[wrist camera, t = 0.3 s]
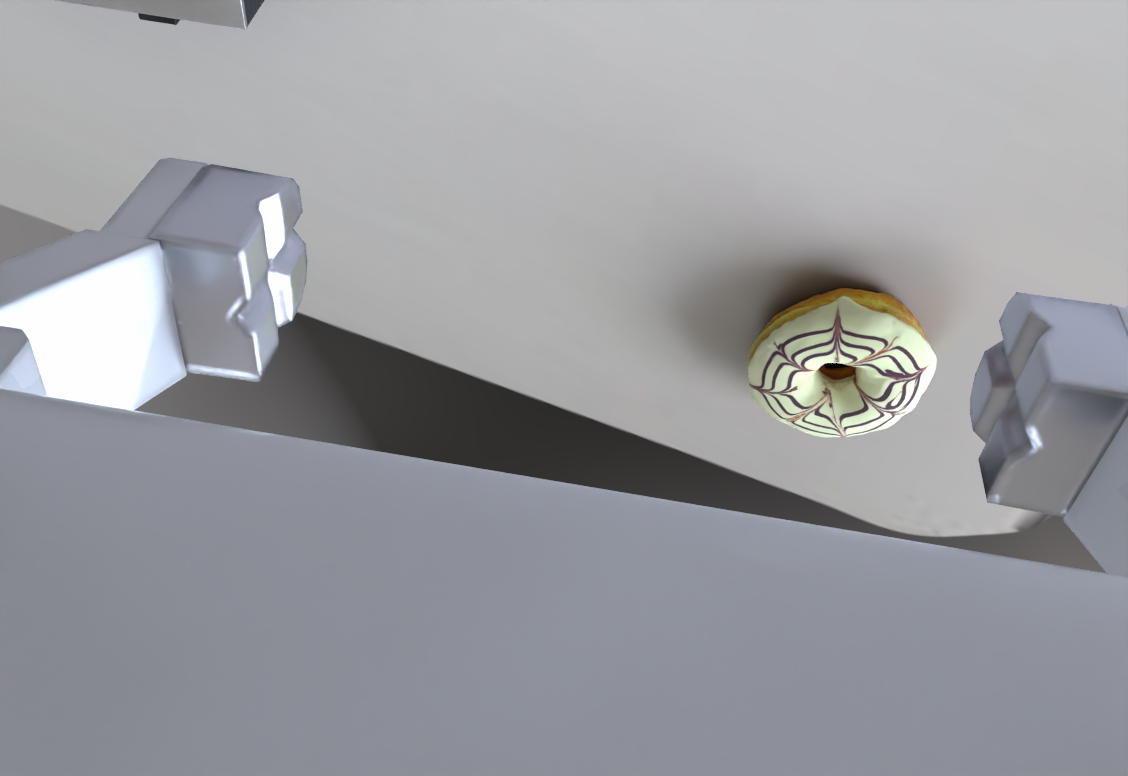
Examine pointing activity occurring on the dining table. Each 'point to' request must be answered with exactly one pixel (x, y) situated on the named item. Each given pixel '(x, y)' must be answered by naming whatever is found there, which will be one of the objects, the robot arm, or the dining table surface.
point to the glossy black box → (185, 10)
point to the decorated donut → (848, 336)
